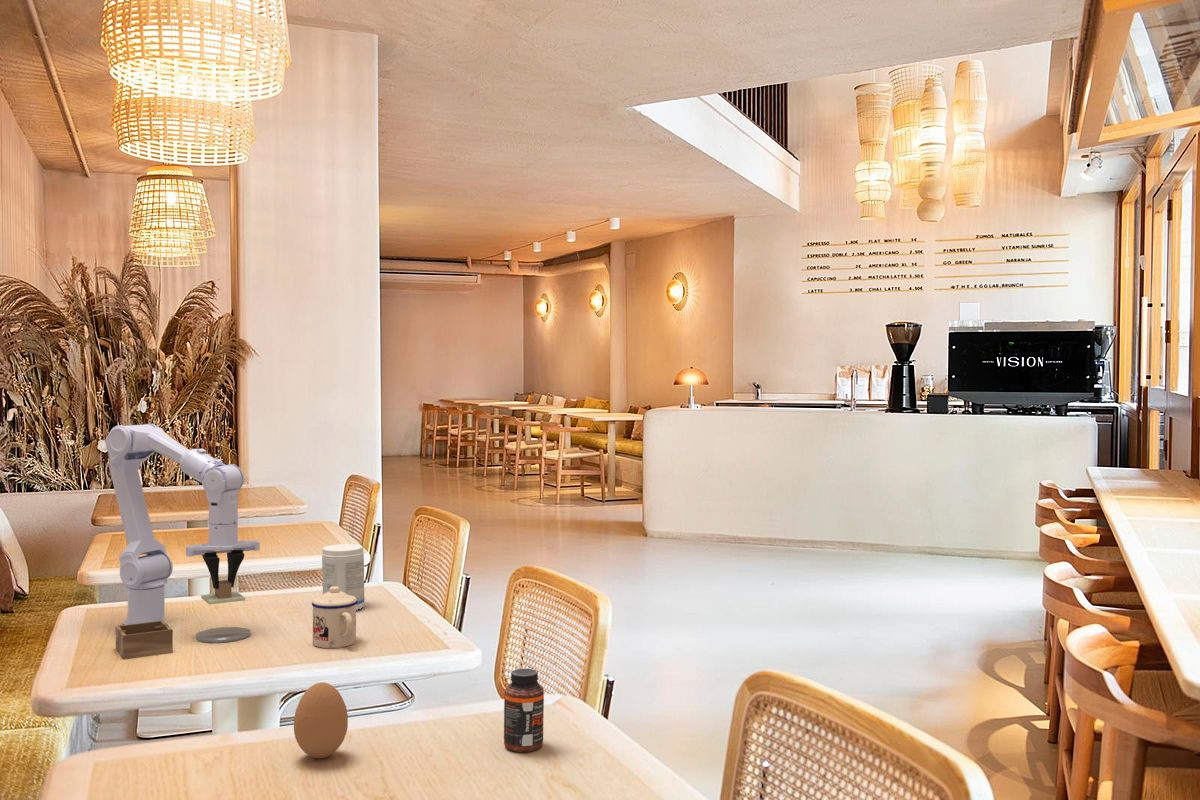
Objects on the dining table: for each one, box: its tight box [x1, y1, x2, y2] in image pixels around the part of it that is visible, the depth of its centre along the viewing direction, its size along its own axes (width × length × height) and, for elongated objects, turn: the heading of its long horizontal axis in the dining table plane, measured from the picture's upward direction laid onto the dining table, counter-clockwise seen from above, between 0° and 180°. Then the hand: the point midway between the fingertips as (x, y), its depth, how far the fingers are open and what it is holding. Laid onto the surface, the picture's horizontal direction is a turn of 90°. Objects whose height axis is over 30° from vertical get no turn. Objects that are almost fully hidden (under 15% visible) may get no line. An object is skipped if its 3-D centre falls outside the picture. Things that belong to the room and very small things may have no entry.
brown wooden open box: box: [115, 620, 174, 660], centre depth 204 cm, size 9×9×4 cm
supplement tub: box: [321, 543, 365, 611], centre depth 241 cm, size 10×10×15 cm
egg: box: [293, 681, 349, 760], centre depth 149 cm, size 8×8×11 cm
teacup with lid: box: [311, 586, 357, 649], centre depth 210 cm, size 12×9×12 cm
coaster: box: [194, 626, 252, 644], centre depth 216 cm, size 11×11×1 cm
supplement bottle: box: [503, 668, 545, 753], centre depth 154 cm, size 6×6×11 cm
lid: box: [200, 579, 246, 605], centre depth 216 cm, size 7×7×4 cm
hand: (223, 587), depth 215 cm, fingers closed on lid, 2 cm apart
